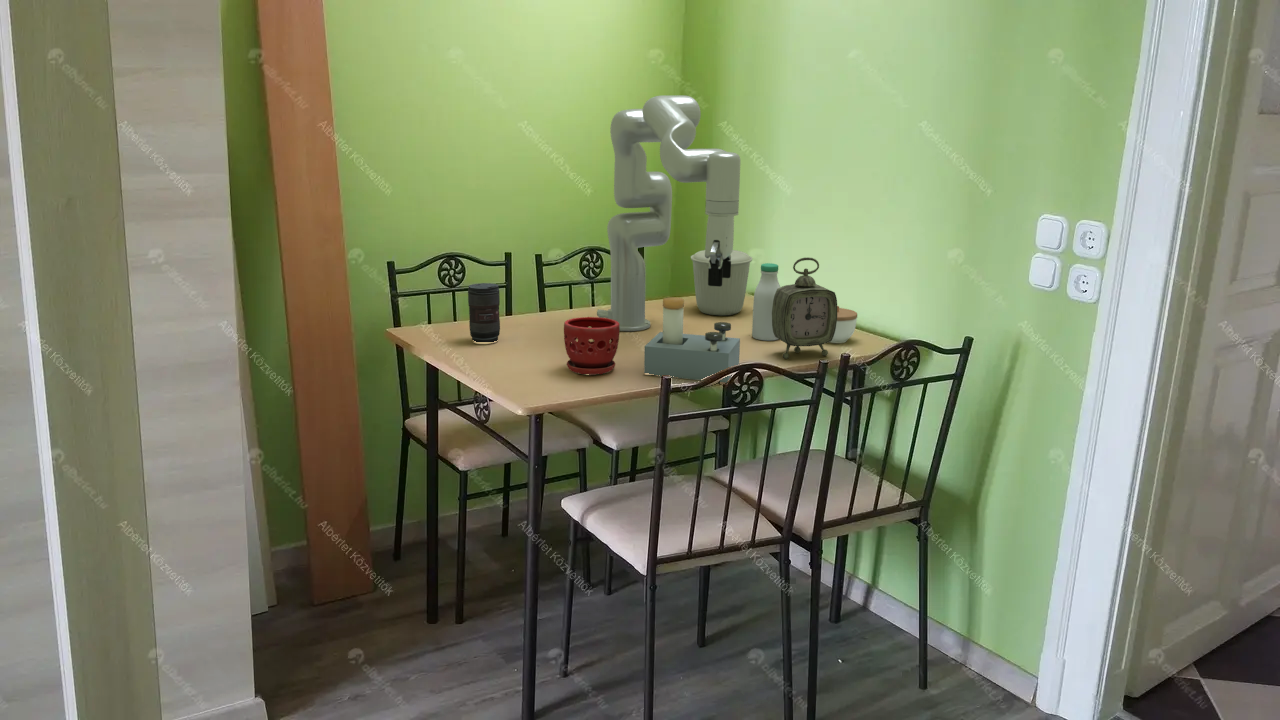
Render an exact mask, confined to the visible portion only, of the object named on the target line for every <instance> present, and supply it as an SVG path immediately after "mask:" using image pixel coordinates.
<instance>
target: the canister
mask: <svg viewBox="0 0 1280 720" xmlns="http://www.w3.org/2000/svg"><path fill="white" fill-rule="evenodd" d="M690 260H691V262H692V267H693V268H692V269H693V279H694V280H693V281H694V290H695V302H696V306H697V308H698V310H699V311H700V312H701V313H703V314H706V315H711V316H720V317H721V316H732V315H736V314H738V313H740V312H741V311H742V309H743V307H744V303H745V297H746V291H747V287H748V286H747V285H748V281H749V280H748V278H749V272H750V265H751V262H752V261H753V256H751V255H749V254H748V253H747V252H744V251H741V250H738V249H737V250H735V249H733V251H732V253H731V277H730V278H722V286H721V287H719V286H709V285H708V268H709V261H710V257H709V258H706V257H705V249H704V250H699V251H697V252H695V253H694V254H692V255H690Z"/></svg>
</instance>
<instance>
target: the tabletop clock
mask: <svg viewBox="0 0 1280 720" xmlns="http://www.w3.org/2000/svg"><path fill="white" fill-rule="evenodd" d="M804 261H812V262H814V263H815V264H816V265H817V267H816V268H815V269H813V270H811V271H810V270H809V269H808V268H804V269H803V271H800V270H797V269H796V265H797V264H799V263H800V262H804ZM819 263H820V262H819V261H818V260H817V259H816V258H813V257H802V258H799V259H797V260H796V261H795V262H793V266H792V269H793V271H794V272H795V273H796V274H798V275H799V276H798V277H797V278H796V279H795V282H794V283H792V284H786V285H783V286H780V288H778V289H777V291H776V293H775V296H774V300H773V308H772V328H773V333H774V335H775V337H776V338H778V340H780V341H782V342H783V343H785V344H786V348H785V352H784V353H783V354H782V357H783V359H784V360H786V359H789V358H790V354H789V350H790V348H791V347H794V349H793V351H794V352H795V353H796V354H799V353H800V352H801V347H813V346H819V347H820V349H821V355H822V356H823V357H825V356H826V357H827V356H828V354H829V351H828V350H827V349H825V348H824V345H825V344H828V343H829V342H830V341H832V339H833V336H834V333H835V329H836V323H837V306H838V299H837V294H836V292H835V291H833V290H831V289H828V288H825V286H821V285H819V284H816V280H815V279H814V277H812V276H811V275H812V274H814V273H816V272H817V271H818V270H819V269H820V264H819Z"/></svg>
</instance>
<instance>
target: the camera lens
mask: <svg viewBox="0 0 1280 720" xmlns="http://www.w3.org/2000/svg"><path fill="white" fill-rule="evenodd" d="M499 288H500V287H499V285H498V284H496V283H490V282H488V283H486V282H484V283H483V282H481V283H473V284H470V285H469V284H468V289H467V301H468V316H469V319H468V320H469V333H470V337H471V341H472V340H474V341H476V342H494V341H497V340H498V341H499V336H500V330H501V320H500V299H501V298H500V289H499ZM498 341H497V342H498Z"/></svg>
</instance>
